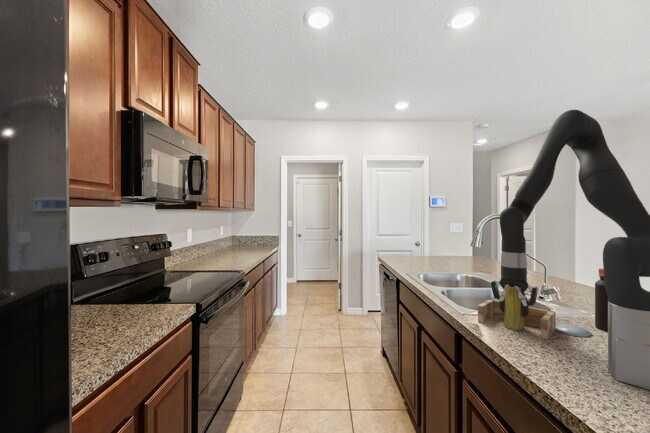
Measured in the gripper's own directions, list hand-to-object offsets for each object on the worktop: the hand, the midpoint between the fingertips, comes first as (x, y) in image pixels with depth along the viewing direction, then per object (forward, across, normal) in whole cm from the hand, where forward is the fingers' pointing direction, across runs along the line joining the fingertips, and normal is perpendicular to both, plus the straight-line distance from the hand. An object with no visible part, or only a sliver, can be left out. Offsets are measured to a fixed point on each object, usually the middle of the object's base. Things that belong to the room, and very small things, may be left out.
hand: (513, 313), depth 100 cm
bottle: (+5, +22, +21) cm, 31 cm away
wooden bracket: (+4, 0, +1) cm, 5 cm away
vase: (+5, 0, 0) cm, 5 cm away
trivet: (+5, +14, +10) cm, 18 cm away
